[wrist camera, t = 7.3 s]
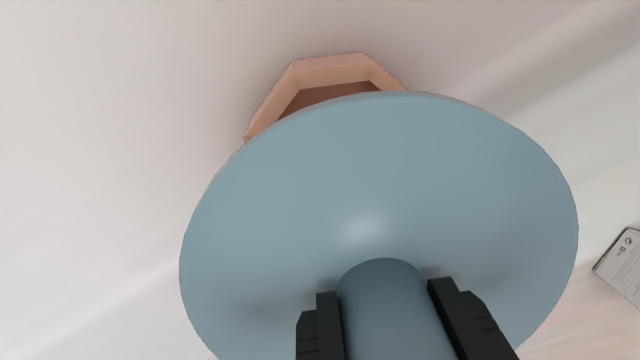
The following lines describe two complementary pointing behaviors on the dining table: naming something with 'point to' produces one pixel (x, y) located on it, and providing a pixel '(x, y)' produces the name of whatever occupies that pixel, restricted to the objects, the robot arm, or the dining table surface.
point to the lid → (377, 228)
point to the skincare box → (623, 267)
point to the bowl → (319, 86)
